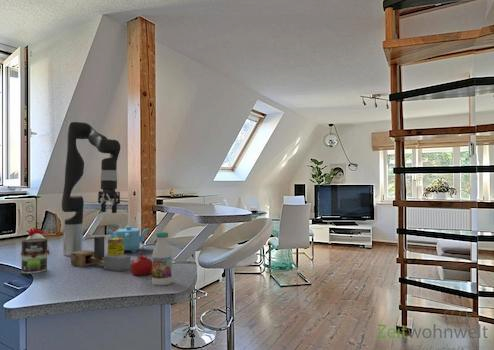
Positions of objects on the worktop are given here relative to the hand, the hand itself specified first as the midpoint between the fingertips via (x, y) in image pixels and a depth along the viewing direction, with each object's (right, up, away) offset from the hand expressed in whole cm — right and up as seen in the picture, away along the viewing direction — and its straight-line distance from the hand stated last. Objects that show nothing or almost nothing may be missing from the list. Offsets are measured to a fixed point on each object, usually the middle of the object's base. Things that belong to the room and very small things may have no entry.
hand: (108, 212), depth 175 cm
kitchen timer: (-54, -27, +29) cm, 67 cm away
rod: (+2, -24, -6) cm, 25 cm away
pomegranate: (+22, -25, -18) cm, 38 cm away
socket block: (-13, -26, +1) cm, 29 cm away
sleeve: (+7, -25, -9) cm, 28 cm away
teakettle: (-2, -27, +36) cm, 45 cm away
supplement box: (-1, -26, +12) cm, 29 cm away
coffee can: (-30, -26, -12) cm, 41 cm away
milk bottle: (+34, -25, -34) cm, 54 cm away
